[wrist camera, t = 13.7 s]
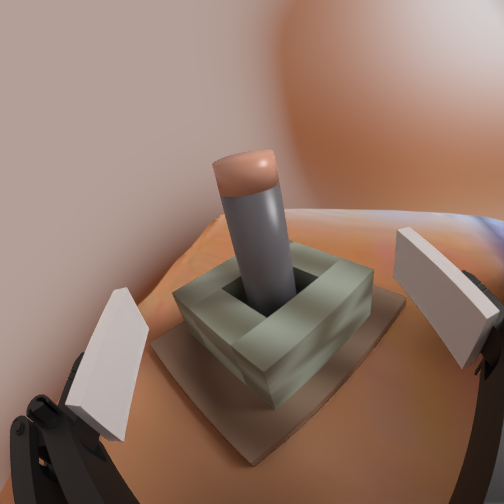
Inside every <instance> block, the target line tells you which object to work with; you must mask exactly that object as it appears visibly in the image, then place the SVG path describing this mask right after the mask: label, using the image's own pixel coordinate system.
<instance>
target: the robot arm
mask: <svg viewBox="0 0 504 504" xmlns="http://www.w3.org/2000/svg"><path fill="white" fill-rule="evenodd" d="M393 277H394V278H395V279H396V281H397V282H398V283H399V284H400V285H401V287H402V288H403V289H404V290H405V292H406V293H407V294H408V295H409V297H410V298H411V299H412V300H413V302H414V303H415V304H416V306H417V307H418V308H419V310H420V311H421V312H422V313H423V315H424V316H425V317H426V319H427V320H428V321H429V323H430V324H431V326H432V327H433V328H434V330H435V331H436V332H437V334H438V335H439V337H440V338H441V339H442V341H443V342H444V344H445V345H446V347H447V348H448V350H449V351H450V352H451V354H452V355H453V357H454V358H455V360H456V361H457V363H458V364H459V366H460V368H461V369H464V368H465V367H467V366H469V365H471V364H472V363H474V362H475V361H476V359H477V357H478V355H479V353H480V352H481V354H482V355H483V356H484V357H483V359H482V361H481V362H480V364H479V366H478V367H477V369H476V371H475V374H474V375H477V373H478V372H479V370H480V369H481V372H480V383H479V391H478V398H477V405H476V411H475V417H474V422H473V427H472V432H471V436H470V440H469V444H468V448H467V452H466V456H465V459H464V462H463V466H462V469H461V472H460V475H459V478H458V481H457V484H456V486H455V489H454V492H453V494H452V497H451V499H450V502H449V504H504V305H503V304H502V303H501V302H500V301H499V300H498V299H497V298H496V297H495V296H494V295H493V294H492V293H491V292H490V291H489V290H487V288H486V287H485V286H484V285H483V284H481V282H480V281H479V280H478V279H477V278H476V277H475V276H474V275H472V274H470V273H468V272H466V271H465V270H463V271H460V270H459V269H458V268H457V267H456V266H455V265H454V264H452V263H451V262H450V261H449V260H448V259H447V258H446V257H445V256H444V255H442V254H441V253H440V252H439V251H438V250H437V249H436V248H434V247H433V246H432V245H431V244H430V243H428V242H427V241H426V240H425V239H424V238H423V237H421V236H420V235H419V234H418V233H416V232H415V231H414V230H413V229H411V228H410V227H406V228H402V229H398V230H397V237H396V252H395V264H394V274H393ZM148 331H149V328H148V326H147V324H146V322H145V320H144V319H143V317H142V315H141V313H140V311H139V310H138V308H137V306H136V304H135V302H134V300H133V298H132V296H131V294H130V293H129V291H128V289H127V288H122V289H117V290H114V291H113V293H112V295H111V297H110V299H109V301H108V303H107V305H106V307H105V309H104V311H103V313H102V316H101V318H100V320H99V322H98V324H97V326H96V328H95V331H94V333H93V335H92V337H91V340H90V342H89V344H88V346H87V349H86V351H85V352H83V353H81V354H80V356H79V357H78V358H77V359H76V361H75V363H74V365H73V367H72V370H71V373H70V375H69V377H68V380H67V383H66V385H65V387H64V390H63V393H62V395H61V398H60V401H59V404H58V406H57V405H56V404H55V403H53V402H52V401H51V400H50V399H49V398H48V397H47V396H45V395H38V396H36V397H35V398H33V399H32V400H31V402H30V403H29V405H28V407H27V417H28V418H30V419H31V420H32V421H33V422H31V421H30V420H29V419H27V418H26V417H25V416H19V417H17V418H16V419H15V420H14V421H13V423H12V425H11V429H10V458H11V459H10V461H11V477H12V487H13V495H14V502H15V504H140V503H139V502H138V500H137V499H136V497H135V496H134V495H133V493H132V492H131V490H130V489H129V487H128V486H127V484H126V483H125V481H124V480H123V478H122V476H121V475H120V473H119V472H118V470H117V468H116V467H115V465H114V463H113V462H112V460H111V458H110V456H109V455H108V453H107V451H106V449H105V447H104V445H103V444H102V443H101V442H100V441H99V436H100V435H102V436H103V437H104V438H106V439H107V440H108V441H118V442H124V437H125V431H126V426H127V421H128V415H129V410H130V406H131V401H132V396H133V392H134V387H135V383H136V378H137V374H138V370H139V366H140V362H141V358H142V354H143V350H144V346H145V342H146V339H147V335H148ZM39 458H40V459H42V460H43V461H44V466H42V465H41V464H39Z"/></svg>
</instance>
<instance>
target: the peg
mask: <svg viewBox="0 0 504 504" xmlns="http://www.w3.org/2000/svg"><path fill="white" fill-rule="evenodd" d="M212 165H213V169H214V173H215V177H216V181H217V185H218V189H219V193H220V197H221V201H222V205H223V209H224V213H225V217H226V221H227V224H228V228H229V232H230V236H231V240H232V244H233V247H234V251H235V255H236V259H237V263H238V266H239V270H240V274H241V278H242V281H243V285H244V289H245V292H246V296H247V300H248V303H249V307H250V308H252V309H253V310H255V311H257V312H258V313H260V314H261V315H263V316H265V317H266V318H268V317H269V316H271V315H272V314H273V313H274V312H276V311H277V310H278V309H280V308H281V307H282V306H284V305H285V304H286V303H287V302H289V301H290V300H291V299H292V298H294V297H295V296H296V295H297V294H296V287H295V280H294V272H293V265H292V258H291V252H290V245H289V238H288V232H287V226H286V219H285V213H284V207H283V201H282V195H281V189H280V184H279V178H278V172H277V167H276V161H275V156H274V151H272V150H256V151H249V152H243V153H239V154H234V155H231V156H227V157H224V158H222V159H219V160H217V161H215V162H214V163H213V164H212Z"/></svg>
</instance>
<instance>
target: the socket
mask: <svg viewBox="0 0 504 504" xmlns="http://www.w3.org/2000/svg"><path fill="white" fill-rule="evenodd" d="M289 245H290V252H291V258H292V265H293V272H294V280H295V287H296V294H297V295H296V296H295V297H294V298H292V299H291V300H290V301H289V302H287V303H286V304H285V305H284V306H282V307H281V308H280V309H278V310H277V311H276V312H274V313H273V314H272V315H271V316H269V317H268V318H266V317H265V316H263V315H261V314H260V313H258V312H257V311H255V310H253V309H252V308H250V307H249V303H248V300H247V296H246V292H245V289H244V285H243V281H242V278H241V274H240V270H239V266H238V263H237V259H236V256H234V257H232V258H230V259H229V260H227V261H225V262H224V263H222V264H220V265H219V266H217V267H215V268H213V269H212V270H210V271H208V272H207V273H205V274H203V275H202V276H200V277H198V278H196V279H195V280H193V281H191V282H190V283H188V284H186V285H185V286H183V287H181V288H180V289H178V290H176V291H174V292H173V293H172V294H173V296H174V299H175V301H176V303H177V305H178V307H179V310H180V312H181V314H182V316H183V318H184V320H185V321H184V322H182V323H181V324H179V325H178V326H176V327H174V328H173V329H171V330H170V331H168V332H166V333H165V334H163V335H162V336H160V337H158V338H157V339H155V340H154V341H152V342H150V343H149V344H150V345H151V347H152V348H153V350H154V351H155V353H156V354H157V356H158V357H159V358H160V360H161V361H162V363H163V364H164V365H165V367H166V368H167V369H168V371H169V372H170V373H171V375H172V376H173V377H174V379H175V380H176V381H177V383H178V384H179V385H180V387H181V388H182V389H183V390H184V392H185V393H186V394H187V395H188V397H189V398H190V399H191V400H192V401H193V403H194V404H195V405H196V406H197V407H198V409H199V410H200V411H201V412H202V413H203V414H204V416H205V417H206V418H207V419H208V420H209V421H210V422H211V424H212V425H213V426H214V427H215V428H216V429H217V430H218V431H219V432H220V433H221V435H222V436H223V437H224V438H225V439H226V440H227V441H228V442H229V443H230V444H231V445H232V446H233V447H234V448H235V449H236V450H237V451H238V452H239V453H240V454H241V455H242V456H243V457H244V458H245V459H246V460H247V461H248V462H249V463H250V464H251V465H252V466H253V467H254V466H255V465H257V464H258V463H259V462H260V461H262V460H263V459H264V458H265V457H267V456H268V455H269V454H270V453H272V452H273V451H274V450H275V449H276V448H278V447H279V446H280V445H281V444H282V443H284V442H285V441H286V440H287V439H288V438H289V437H290V436H292V435H293V434H294V433H295V432H296V431H297V430H298V429H299V428H300V427H301V426H303V425H304V424H305V423H306V422H307V421H308V420H309V419H310V418H311V417H312V416H313V415H314V414H315V413H316V412H317V411H318V410H319V409H320V408H321V407H322V406H323V405H324V404H325V403H326V402H327V401H328V400H329V399H330V398H331V397H332V396H333V395H334V394H335V393H336V392H337V390H338V389H339V388H340V387H341V386H342V385H343V384H344V383H345V382H346V381H347V379H348V378H349V377H350V376H351V375H352V374H353V373H354V371H355V370H356V369H357V368H358V367H359V366H360V364H361V363H362V362H363V361H364V360H365V358H366V357H367V356H368V355H369V354H370V352H371V351H372V350H373V349H374V347H375V346H376V345H377V343H378V342H379V341H380V340H381V338H382V337H383V336H384V334H385V333H386V332H387V330H388V329H389V328H390V326H391V325H392V323H393V322H394V321H395V319H396V318H397V316H398V315H399V314H400V312H401V311H402V309H403V308H404V306H405V304H406V297H404V296H401V295H399V294H396V293H394V292H391V291H389V290H386V289H383V288H381V287H378V286H376V285H373V274H374V269H371V268H368V267H365V266H363V265H360V264H357V263H354V262H351V261H348V260H345V259H343V258H340V257H337V256H334V255H331V254H328V253H325V252H322V251H319V250H316V249H313V248H310V247H307V246H304V245H301V244H298V243H295V242H292V241H289Z"/></svg>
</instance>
